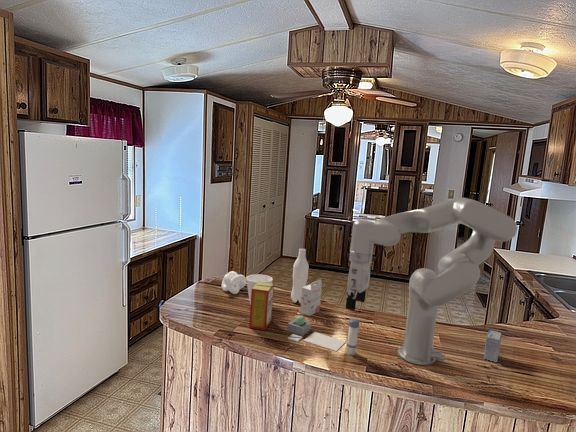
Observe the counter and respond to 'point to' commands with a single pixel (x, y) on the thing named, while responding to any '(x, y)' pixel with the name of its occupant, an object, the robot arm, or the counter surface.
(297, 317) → the button
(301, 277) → the water bottle
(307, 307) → the ink cartridge box
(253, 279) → the cup
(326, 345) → the paper
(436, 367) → the counter surface
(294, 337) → the card
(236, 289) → the white lumpy rounded part
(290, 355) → the counter surface
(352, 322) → the marker
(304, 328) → the button housing
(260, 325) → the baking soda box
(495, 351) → the medicine box
